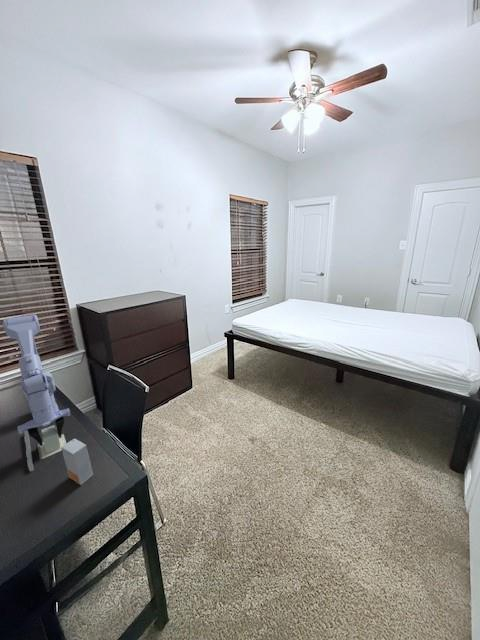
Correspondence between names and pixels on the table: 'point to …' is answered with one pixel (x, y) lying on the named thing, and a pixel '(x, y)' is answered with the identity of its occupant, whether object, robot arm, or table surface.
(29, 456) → the rail
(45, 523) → the table surface
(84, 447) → the skincare box
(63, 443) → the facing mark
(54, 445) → the sage carton
